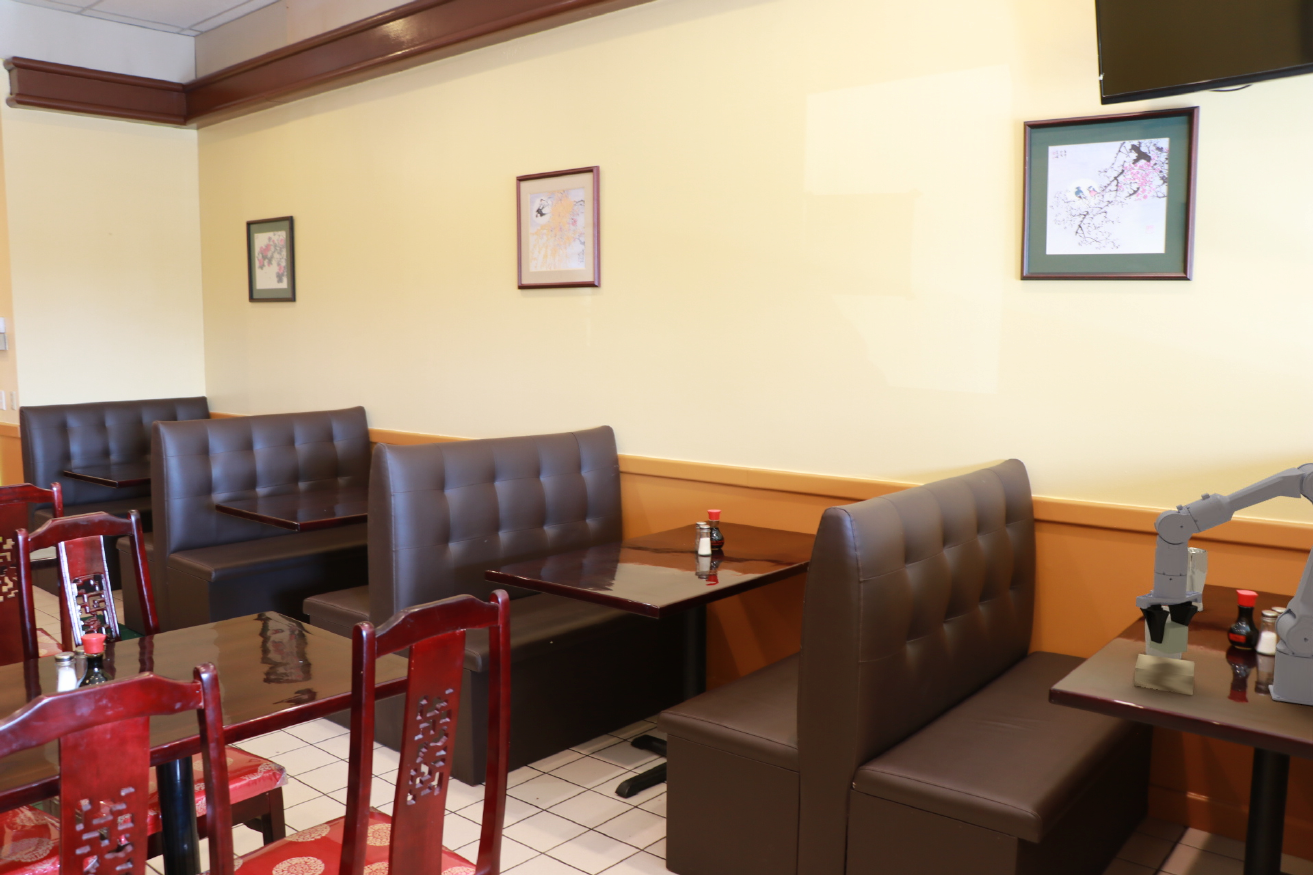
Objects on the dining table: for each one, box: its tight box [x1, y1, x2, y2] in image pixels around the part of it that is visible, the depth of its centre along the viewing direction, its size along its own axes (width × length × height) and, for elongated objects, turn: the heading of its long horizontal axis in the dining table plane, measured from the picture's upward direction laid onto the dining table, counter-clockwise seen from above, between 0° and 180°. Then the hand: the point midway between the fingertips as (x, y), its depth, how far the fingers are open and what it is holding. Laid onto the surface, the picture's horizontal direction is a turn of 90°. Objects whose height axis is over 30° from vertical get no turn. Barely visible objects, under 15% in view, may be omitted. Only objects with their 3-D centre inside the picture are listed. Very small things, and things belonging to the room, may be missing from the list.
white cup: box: [1144, 605, 1183, 660], centre depth 210 cm, size 8×8×10 cm
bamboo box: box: [1133, 653, 1196, 696], centre depth 194 cm, size 10×10×4 cm
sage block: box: [1149, 620, 1189, 654], centre depth 193 cm, size 5×5×5 cm
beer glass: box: [1186, 546, 1209, 613], centre depth 248 cm, size 7×7×15 cm
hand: (1166, 640), depth 194 cm, fingers closed on sage block, 5 cm apart
